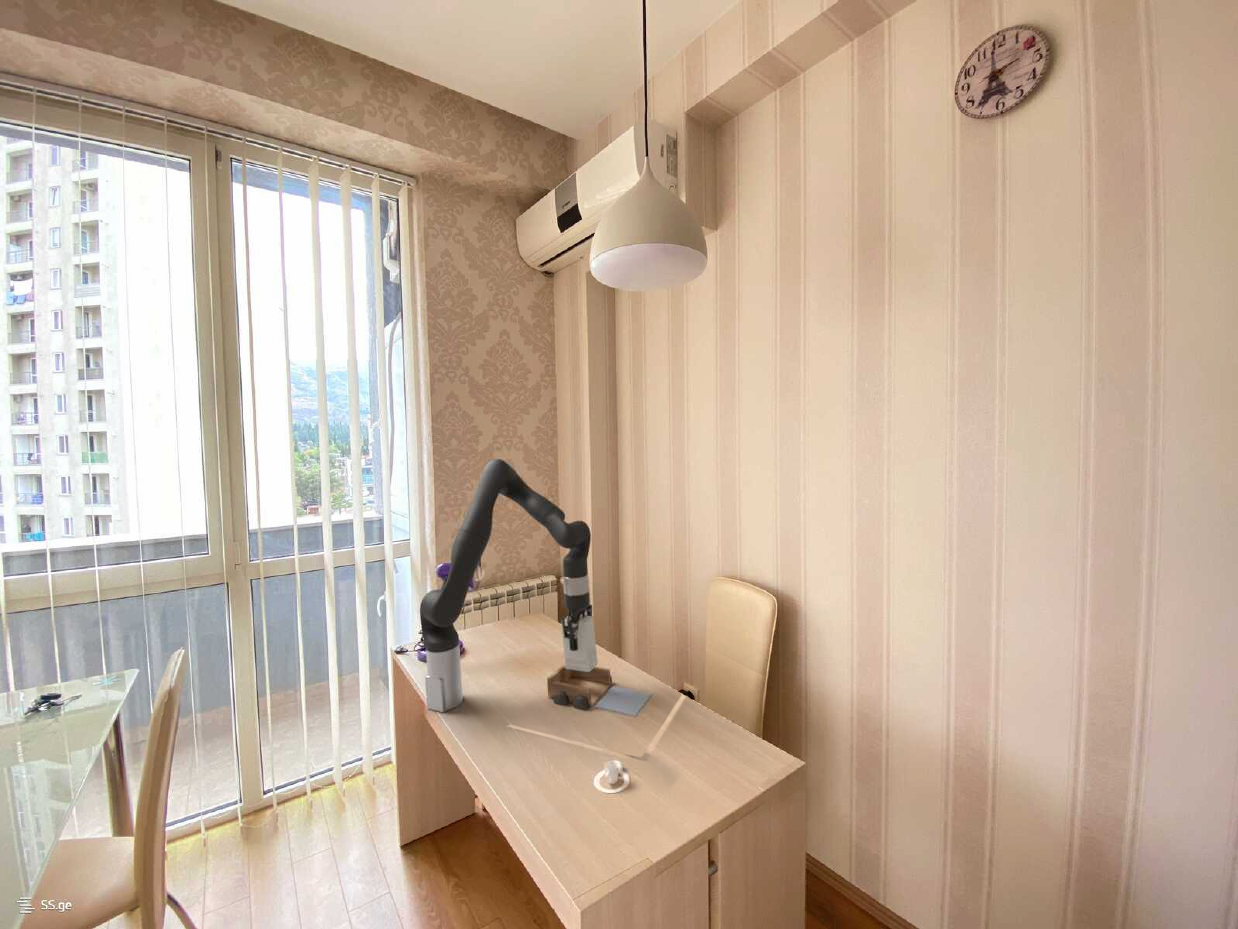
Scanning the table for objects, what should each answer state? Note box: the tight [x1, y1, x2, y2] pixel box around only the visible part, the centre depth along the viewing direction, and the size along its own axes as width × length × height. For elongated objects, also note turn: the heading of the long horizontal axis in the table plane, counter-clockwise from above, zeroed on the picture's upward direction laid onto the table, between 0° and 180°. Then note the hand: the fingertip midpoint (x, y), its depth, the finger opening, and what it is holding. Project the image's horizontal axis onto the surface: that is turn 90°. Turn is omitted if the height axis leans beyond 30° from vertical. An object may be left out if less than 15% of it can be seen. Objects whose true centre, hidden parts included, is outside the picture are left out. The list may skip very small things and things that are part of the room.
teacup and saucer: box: [593, 759, 630, 794], centre depth 113 cm, size 9×8×4 cm
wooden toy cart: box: [546, 663, 613, 711], centre depth 150 cm, size 16×14×7 cm
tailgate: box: [595, 684, 652, 718], centre depth 144 cm, size 12×1×12 cm
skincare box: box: [560, 615, 598, 672], centre depth 149 cm, size 8×6×15 cm
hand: (579, 645), depth 149 cm, fingers closed on skincare box, 6 cm apart
